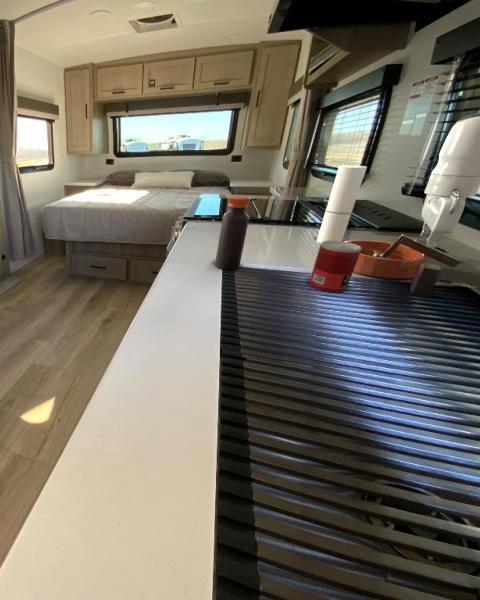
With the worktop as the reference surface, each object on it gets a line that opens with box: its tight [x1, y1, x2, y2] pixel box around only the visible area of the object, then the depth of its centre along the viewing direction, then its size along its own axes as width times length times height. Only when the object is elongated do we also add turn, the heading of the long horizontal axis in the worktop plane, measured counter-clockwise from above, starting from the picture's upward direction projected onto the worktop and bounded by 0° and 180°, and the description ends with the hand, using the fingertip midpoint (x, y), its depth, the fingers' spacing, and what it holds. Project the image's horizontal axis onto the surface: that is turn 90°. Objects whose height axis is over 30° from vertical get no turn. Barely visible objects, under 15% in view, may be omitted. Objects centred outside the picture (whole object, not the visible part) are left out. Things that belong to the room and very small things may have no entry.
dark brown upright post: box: [409, 262, 442, 298], centre depth 78 cm, size 3×4×7 cm
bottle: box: [214, 196, 250, 271], centre depth 95 cm, size 7×7×20 cm
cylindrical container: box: [316, 165, 368, 244], centre depth 111 cm, size 7×7×25 cm
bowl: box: [344, 239, 428, 280], centre depth 94 cm, size 19×19×6 cm
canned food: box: [309, 240, 361, 293], centre depth 82 cm, size 8×8×11 cm
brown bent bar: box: [370, 234, 462, 269], centre depth 90 cm, size 16×5×9 cm, turn 54°
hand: (427, 242), depth 86 cm, fingers open, 8 cm apart
